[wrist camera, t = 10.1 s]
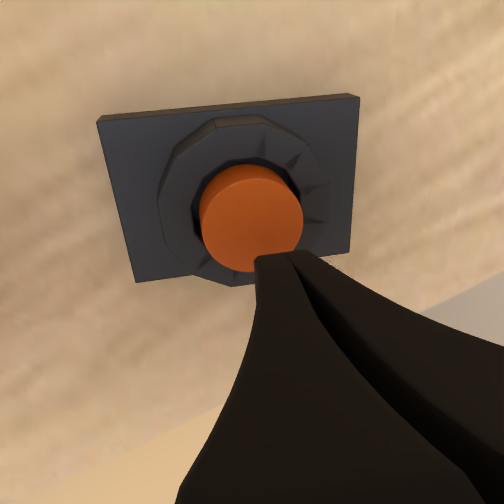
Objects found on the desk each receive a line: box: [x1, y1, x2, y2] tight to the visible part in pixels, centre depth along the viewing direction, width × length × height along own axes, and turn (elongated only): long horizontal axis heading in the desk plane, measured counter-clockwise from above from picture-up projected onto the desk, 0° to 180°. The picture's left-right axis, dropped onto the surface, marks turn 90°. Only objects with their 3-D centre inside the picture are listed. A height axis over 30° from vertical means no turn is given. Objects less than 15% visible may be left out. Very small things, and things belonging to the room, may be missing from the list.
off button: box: [199, 164, 303, 272], centre depth 14 cm, size 4×4×2 cm
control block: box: [96, 93, 360, 287], centre depth 16 cm, size 10×7×3 cm
